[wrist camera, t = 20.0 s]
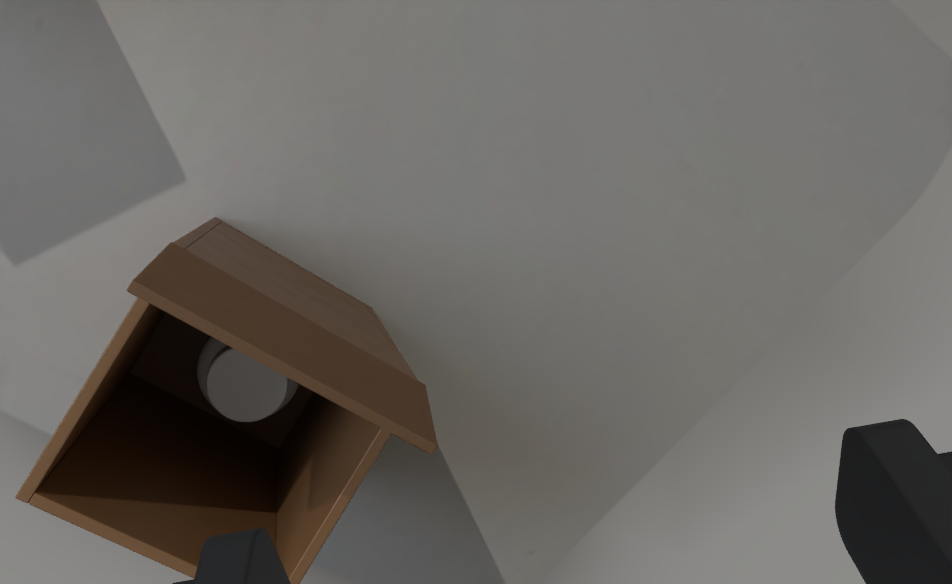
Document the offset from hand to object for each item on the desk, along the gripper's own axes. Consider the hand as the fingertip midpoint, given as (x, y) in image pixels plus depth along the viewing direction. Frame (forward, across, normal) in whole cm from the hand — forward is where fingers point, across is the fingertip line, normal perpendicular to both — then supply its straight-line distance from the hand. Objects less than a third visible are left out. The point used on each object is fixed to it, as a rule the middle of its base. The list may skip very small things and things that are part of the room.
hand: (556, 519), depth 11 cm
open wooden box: (+34, +16, +18) cm, 42 cm away
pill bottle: (+34, +15, +19) cm, 42 cm away
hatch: (+15, +7, +7) cm, 19 cm away
